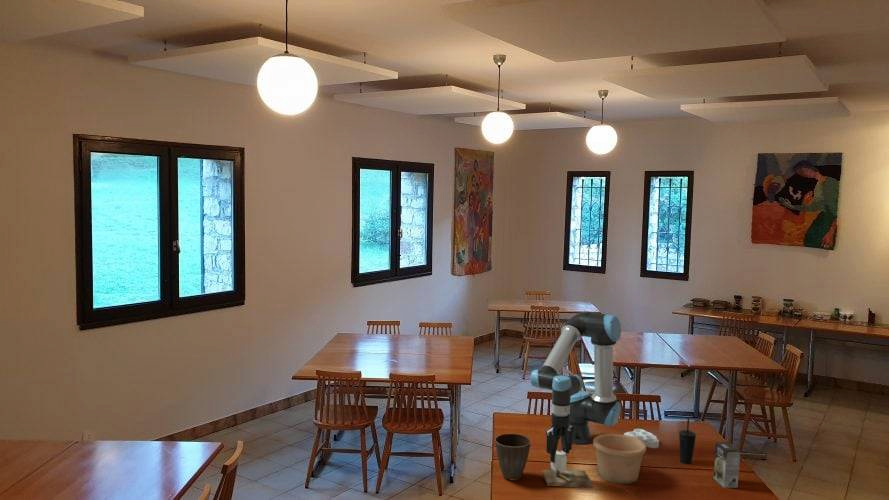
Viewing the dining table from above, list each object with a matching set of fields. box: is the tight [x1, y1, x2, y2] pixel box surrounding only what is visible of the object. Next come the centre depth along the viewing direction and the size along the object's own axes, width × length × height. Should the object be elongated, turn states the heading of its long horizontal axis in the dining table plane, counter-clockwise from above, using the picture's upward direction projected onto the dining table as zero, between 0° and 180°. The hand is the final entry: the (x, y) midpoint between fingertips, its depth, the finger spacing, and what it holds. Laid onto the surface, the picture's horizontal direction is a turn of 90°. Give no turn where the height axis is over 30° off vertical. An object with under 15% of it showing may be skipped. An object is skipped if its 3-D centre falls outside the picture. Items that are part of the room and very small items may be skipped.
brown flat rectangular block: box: [542, 469, 592, 489], centre depth 271 cm, size 18×12×2 cm, turn 91°
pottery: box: [592, 433, 647, 485], centre depth 277 cm, size 22×22×14 cm
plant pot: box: [494, 433, 532, 481], centre depth 273 cm, size 15×15×16 cm
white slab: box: [556, 450, 570, 481], centre depth 269 cm, size 2×11×9 cm, turn 31°
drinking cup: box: [678, 418, 697, 465], centre depth 293 cm, size 8×8×20 cm
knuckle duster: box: [623, 428, 660, 449], centre depth 318 cm, size 3×18×15 cm
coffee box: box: [713, 441, 741, 489], centre depth 272 cm, size 9×6×16 cm
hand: (558, 468), depth 271 cm, fingers open, 4 cm apart
